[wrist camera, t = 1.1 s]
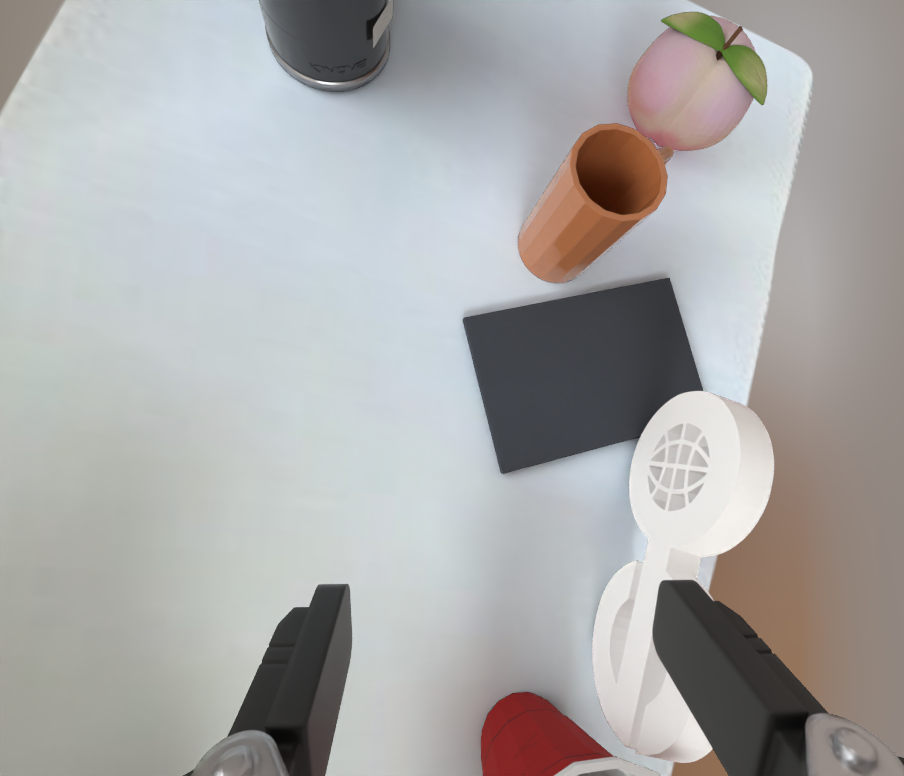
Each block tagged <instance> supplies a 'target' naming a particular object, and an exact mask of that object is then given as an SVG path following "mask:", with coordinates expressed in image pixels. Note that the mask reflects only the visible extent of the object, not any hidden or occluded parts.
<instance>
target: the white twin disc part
mask: <svg viewBox="0 0 904 776" xmlns="http://www.w3.org/2000/svg"><path fill="white" fill-rule="evenodd" d="M773 475H774V457H773V449H772V444H771V440H770V437H769V434H768V432H767V430H766V428H765V427H764V425H763V423H762V422H761V420H760V419H759V418H758V416H757V415H756V414H755V413H754V412H753V411H752V410H751V409H749V408H748V407H746V406H744V405H742V404H740V403H738V402H735V401H732V400H729V399H726V398H723V397H720V396H717V395H715V394H712V393H709V392H706V391H691V392H686V393H682V394H679V395H677V396H676V397H674V398H672V399H671V400H669V401H668V402H667V403H665V404H664V405H663V406H662V407H661V408H660V409H659V410H658V411H657V412H656V413H655V415H654V416H653V417H652V418H651V420H650V421H649V423H648V424H647V426H646V427H645V429H644V431H643V433H642V434H641V437H640V439H639V441H638V444H637V446H636V449H635V452H634V455H633V459H632V464H631V469H630V479H629V494H630V503H631V508H632V512H633V515H634V518H635V520H636V522H637V524H638V526H639V528H640V529H641V531H642V532H643V534H644V535H645V536H646V537H647V538H648V539H649V540H648V544H647V549H646V553H645V558H644V562H641V561H638V560H636V561H633V562H630V563H628V564H627V565H625V566H624V567H622V568H621V569H620V570H619V571H617V572H616V574H615V575H614V576H613V577H612V578H611V580H610V581H609V583H608V585H607V587H606V589H605V591H604V593H603V595H602V597H601V600H600V603H599V607H598V611H597V615H596V620H595V624H594V631H593V643H592V657H593V671H594V678H595V684H596V689H597V693H598V697H599V701H600V704H601V707H602V710H603V713H604V715H605V718H606V720H607V722H608V724H609V726H610V727H611V729H612V730H613V732H614V733H615V734H616V735H617V737H618V738H619V739H620V741H621V742H622V743H623V744H624V745H625V746H626V747H629V748H633V749H637V750H636V754H641V755H645V756H650V757H655V758H659V759H664V760H669V761H673V762H678V763H688V762H693V761H697V760H698V759H700V758H702V757H704V756H705V755H706V754H708V753H709V752H710V751H711V750H712V749H713V748H712V747H711V745H710V743H709V741H708V740H707V738H706V736H705V735H704V733H703V731H702V730H701V728H700V726H699V725H698V723H697V721H696V719H695V718H694V716H693V714H692V713H691V711H690V709H689V708H688V706H687V704H686V703H685V701H684V699H683V697H682V696H681V694H680V692H679V691H678V689H677V687H676V686H675V684H674V682H673V681H672V679H671V677H670V675H669V674H668V672H667V670H666V669H665V667H664V665H663V664H662V662H661V660H660V659H659V657H658V655H657V652H656V650H655V646H654V642H653V636H652V628H653V621H654V615H655V608H656V602H657V595H658V589H659V585H660V583H661V581H663V580H694V581H696V582H697V583H698V584H699V585H700V586H701V587H702V589H703V590H704V591H705V592H706V593H707V594H708V595H709V597H710V598H711V599H712V597H711V595H710V594H709V593H708V591H707V590H706V589H705V587H704V586H703V585H702V584H701V583H700V582H699V581H698V580H697V576H698V571H699V566H700V562H701V557H710V556H715V555H718V554H721V553H724V552H726V551H728V550H729V549H731V548H733V547H735V546H736V545H737V544H738V543H740V542H741V541H742V540H743V539H744V538H745V537H746V536H747V535H748V534H749V533H750V532H751V531H752V529H753V528H754V527H755V525H756V524H757V522H758V521H759V519H760V517H761V515H762V513H763V512H764V510H765V507H766V504H767V502H768V499H769V496H770V492H771V487H772V482H773ZM712 600H713V599H712ZM713 601H714V600H713Z"/></svg>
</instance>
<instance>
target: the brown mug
mask: <svg viewBox="0 0 904 776" xmlns="http://www.w3.org/2000/svg"><path fill="white" fill-rule="evenodd" d="M672 156H673V149H672V147H670V146H665V147H663V148H661V149H659V150H657V149H656V147H655V146H654V144H653V143H652V142H651V141H650V140H649V139H648V138H646V137H645V136H644V135H642V134H641V133H640V132H638V131H637V130H635V129H633V128H630V127H627V126H624V125H621V124H617V123H614V124H600V125H597V126H595V127H593V128H591V129H589V130H588V131H586V132H584V133H583V134H582V135H581V136H580V137H579V139H578V140H577V142H576V143H575V145H574V146H573V147H572V149H571V151H570V152H569V154H568V155H567V157H566V158H565V160H564V162H563V163H562V165H561V166H560V168H559V169H558V171H557V173H556V174H555V176H554V177H553V179H552V180H551V182H550V184H549V185H548V187H547V188H546V190H545V191H544V193H543V194H542V196H541V198H540V199H539V201H538V202H537V204H536V205H535V207H534V209H533V210H532V212H531V213H530V215H529V216H528V218H527V220H526V221H525V223H524V224H523V226H522V228H521V231H520V233H519V238H518V248H519V253H520V256H521V259H522V261H523V263H524V264H525V266H526V267H527V268H528V270H529V271H530V272H531V273H533V274H534V275H535V276H537V277H538V278H540V279H542V280H544V281H547V282H552V283H564V282H568V281H571V280H573V279H575V278H576V277H578V276H579V275H580V274H582V273H583V272H585V271H586V270H587V269H588V268H589V267H591V266H592V265H593V264H594V263H595V262H596V261H597V260H599V259H600V258H601V257H602V256H603V255H604V254H606V253H607V252H608V251H609V250H610V249H611V248H613V247H614V246H615V245H616V244H617V243H618V242H619V241H621V240H622V239H623V238H624V237H625V236H626V235H628V234H629V233H630V232H631V231H632V230H633V229H634V228H636V227H637V226H638V225H639V224H640V223H641V222H643V221H644V220H645V219H646V218H647V217H648V216H650V215H651V214H652V213H653V212H654V211H655V210H656V209H657V208H658V206H659V204H660V203H661V201H662V200H663V198H664V196H665V194H666V186H667V178H668V177H667V172H666V168H665V164H666V163H667V162H668V161H669V160H670V159H671V157H672Z"/></svg>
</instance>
